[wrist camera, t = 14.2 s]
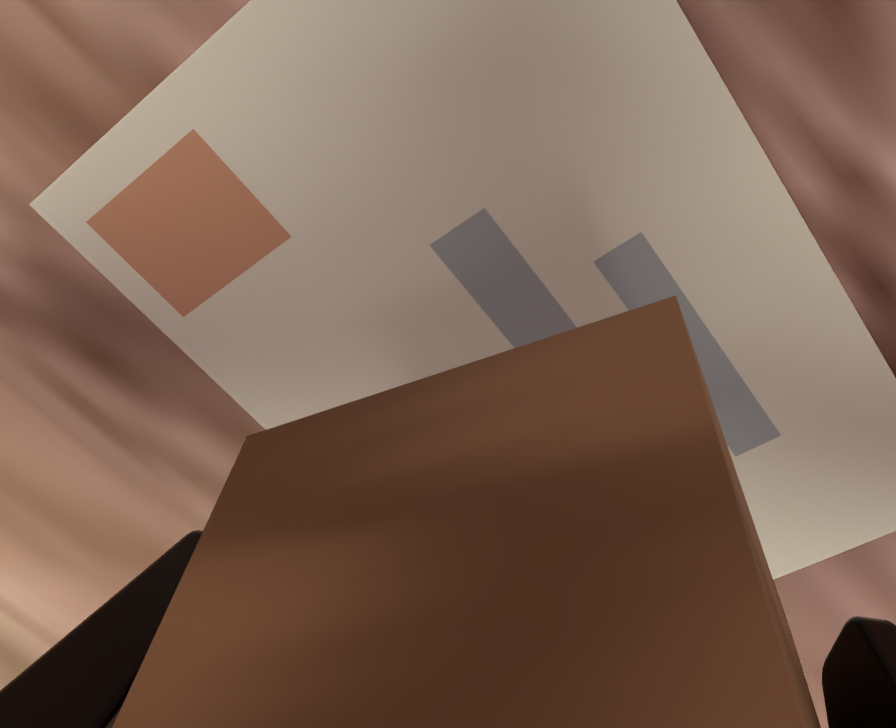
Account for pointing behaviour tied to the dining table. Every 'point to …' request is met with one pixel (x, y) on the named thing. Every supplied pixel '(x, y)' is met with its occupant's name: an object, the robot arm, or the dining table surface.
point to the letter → (486, 227)
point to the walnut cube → (487, 558)
